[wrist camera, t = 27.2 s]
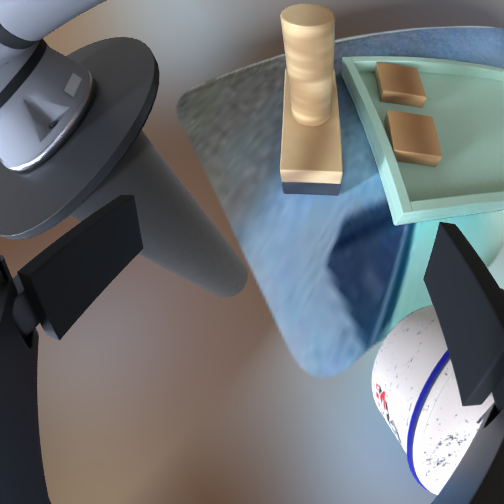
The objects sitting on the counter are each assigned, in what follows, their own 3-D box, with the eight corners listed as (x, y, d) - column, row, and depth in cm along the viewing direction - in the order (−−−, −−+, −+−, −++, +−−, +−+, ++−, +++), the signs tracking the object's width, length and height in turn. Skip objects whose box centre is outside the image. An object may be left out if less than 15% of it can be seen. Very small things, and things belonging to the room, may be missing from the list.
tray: (393, 225, 20) (403, 213, 18) (340, 74, 25) (342, 56, 23) (580, 199, 17) (591, 191, 15) (523, 85, 22) (530, 74, 19)
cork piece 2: (389, 161, 21) (393, 150, 19) (383, 120, 22) (387, 109, 20) (436, 167, 20) (442, 157, 19) (427, 127, 21) (432, 116, 20)
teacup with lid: (337, 390, 18) (376, 505, 6) (421, 272, 18) (545, 252, 6) (450, 459, 15) (520, 544, 4) (519, 360, 15) (624, 391, 4)
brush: (283, 193, 22) (261, 71, 11) (288, 95, 25) (273, -19, 14) (338, 195, 22) (359, 73, 10) (333, 96, 24) (336, -19, 13)
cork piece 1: (380, 102, 22) (382, 90, 21) (374, 72, 23) (376, 61, 22) (422, 108, 22) (426, 97, 20) (413, 78, 23) (416, 67, 21)
